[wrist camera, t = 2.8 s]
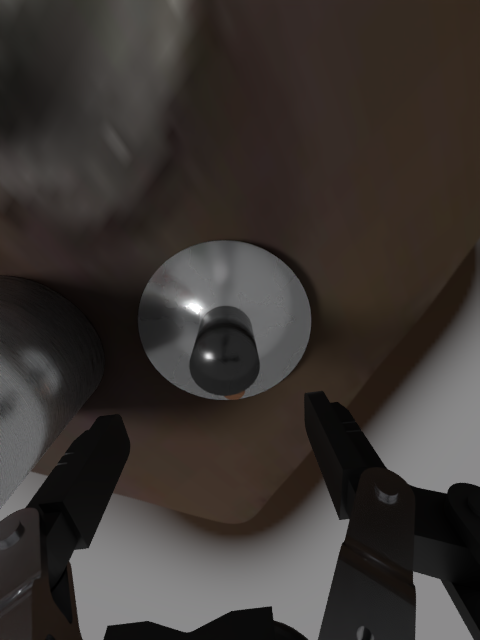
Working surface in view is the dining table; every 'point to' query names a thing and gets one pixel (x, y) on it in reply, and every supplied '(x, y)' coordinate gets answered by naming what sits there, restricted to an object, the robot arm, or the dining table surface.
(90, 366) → the cooker pot
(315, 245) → the dining table surface
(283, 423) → the dining table surface
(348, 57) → the dining table surface
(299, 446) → the dining table surface
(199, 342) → the cooker lid
